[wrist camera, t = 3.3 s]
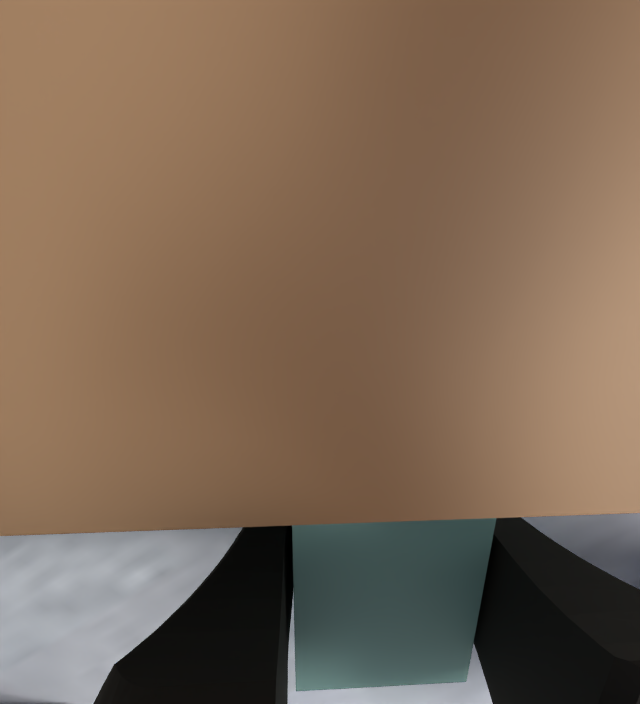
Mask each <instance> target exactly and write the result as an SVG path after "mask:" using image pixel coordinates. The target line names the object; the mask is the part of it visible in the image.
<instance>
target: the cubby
mask: <svg viewBox="0 0 640 704" xmlns="http://www.w3.org/2000/svg"><path fill="white" fill-rule="evenodd" d="M622 513H640V0H0V536H13V535H41V534H68V533H96V532H124V531H151V530H179V529H207V528H234V527H262V526H290V525H318V524H345V523H373V522H401V521H428V520H456V519H484V518H511V517H539V516H567V515H594V514H622Z"/></svg>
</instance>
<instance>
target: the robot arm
mask: <svg viewBox="0 0 640 704" xmlns="http://www.w3.org/2000/svg"><path fill="white" fill-rule="evenodd" d="M293 588H294V584H293V541H292V525H290V526H262V527H243V528H242V530H241V532H240V533H239V535H238V536H237V538H236V539H235V541H234V543H233V544H232V546H231V547H230V548H229V550H228V551H227V553H226V554H225V555H224V557H223V558H222V559H221V561H220V562H219V563H218V565H217V566H216V567H215V568H214V570H213V571H212V572H211V573H210V575H209V576H208V577H207V578H206V579H205V580H204V582H203V583H202V584H201V585H200V586H199V587H198V589H197V590H196V591H195V592H194V593H193V594H192V595H191V596H190V597H189V598H188V599H187V600H186V602H185V603H184V604H182V605H181V606H180V607H179V608H178V609H177V610H176V611H175V612H174V613H173V614H172V615H171V616H170V617H169V618H168V619H167V620H166V621H165V622H164V623H163V624H162V625H161V626H160V627H159V628H158V629H157V630H156V631H154V632H153V633H152V634H151V635H150V636H149V637H148V638H146V639H145V640H144V641H143V642H141V643H140V644H139V645H138V646H137V647H135V648H134V649H133V650H132V651H131V652H129V653H128V654H127V655H126V656H125V657H123V658H122V659H121V660H120V661H118V662H117V663H116V664H114V666H113V668H112V669H111V671H110V673H109V675H108V677H107V679H106V680H105V682H104V684H103V686H102V688H101V690H100V692H99V694H98V696H97V698H96V700H95V702H94V704H287V684H288V644H289V632H290V621H291V610H292V599H293ZM474 645H475V648H476V650H477V653H478V657H479V660H480V663H481V666H482V669H483V673H484V676H485V679H486V682H487V685H488V689H489V692H490V695H491V699H492V702H493V704H640V590H639V589H637V588H635V587H633V586H631V585H629V584H627V583H625V582H623V581H621V580H619V579H618V578H616V577H614V576H612V575H610V574H608V573H606V572H605V571H603V570H601V569H599V568H597V567H595V566H594V565H592V564H590V563H588V562H587V561H585V560H583V559H581V558H580V557H578V556H577V555H575V554H573V553H572V552H570V551H569V550H567V549H565V548H564V547H562V546H561V545H559V544H557V543H556V542H554V541H553V540H551V539H550V538H548V537H547V536H545V535H544V534H543V533H541V532H540V531H538V530H537V529H536V528H534V527H533V526H532V525H530V524H529V523H527V522H526V521H525V520H523V519H522V518H521V517H511V518H496V523H495V529H494V534H493V539H492V545H491V550H490V556H489V561H488V566H487V572H486V577H485V583H484V588H483V594H482V599H481V604H480V610H479V615H478V621H477V626H476V632H475V637H474Z"/></svg>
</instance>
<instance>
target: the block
mask: <svg viewBox="0 0 640 704" xmlns="http://www.w3.org/2000/svg"><path fill="white" fill-rule="evenodd" d="M495 523H496V518H484V519H456V520H428V521H401V522H373V523H345V524H318V525H292V541H293V584H294V627H295V670H296V691H309V690H327V689H345V688H363V687H381V686H399V685H417V684H435V683H453V682H466V680H467V675H468V669H469V664H470V659H471V653H472V648H473V642H474V637H475V632H476V626H477V621H478V615H479V610H480V604H481V599H482V594H483V588H484V583H485V577H486V572H487V566H488V561H489V556H490V550H491V545H492V539H493V534H494V529H495Z"/></svg>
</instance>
